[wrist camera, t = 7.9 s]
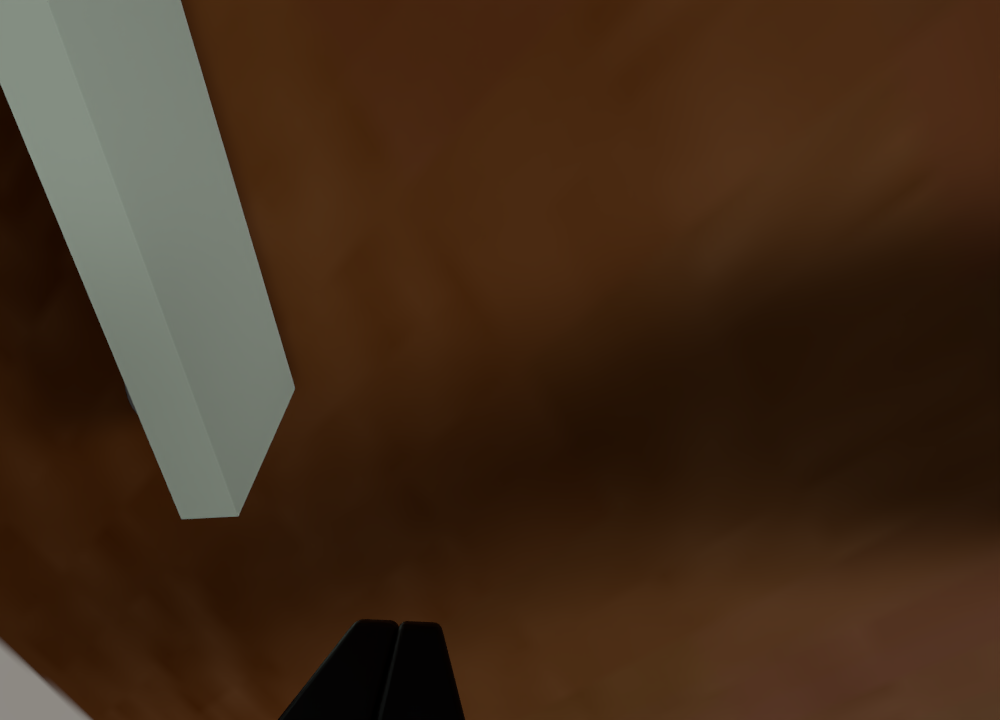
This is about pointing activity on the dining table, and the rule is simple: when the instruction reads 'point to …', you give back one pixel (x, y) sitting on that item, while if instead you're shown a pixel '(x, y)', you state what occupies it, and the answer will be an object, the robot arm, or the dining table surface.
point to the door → (153, 231)
